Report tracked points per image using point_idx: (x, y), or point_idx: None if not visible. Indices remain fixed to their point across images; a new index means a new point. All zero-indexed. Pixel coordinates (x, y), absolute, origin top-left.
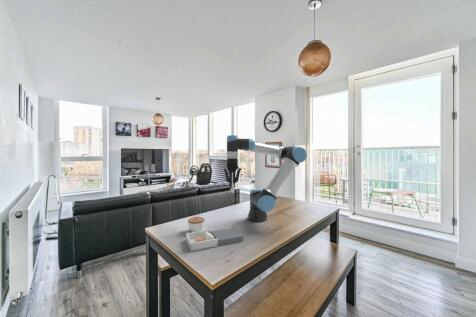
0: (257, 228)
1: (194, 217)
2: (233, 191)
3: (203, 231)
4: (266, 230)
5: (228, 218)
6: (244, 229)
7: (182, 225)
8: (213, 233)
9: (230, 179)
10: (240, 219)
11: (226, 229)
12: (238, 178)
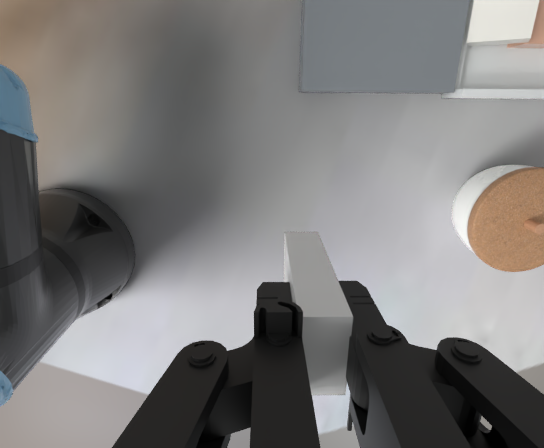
0: (134, 91)
1: (524, 259)
2: (296, 238)
3: (510, 89)
4: (88, 32)
5: (244, 314)
6: (220, 110)
7: (512, 302)
8: (458, 50)
9: (440, 401)
10: (182, 274)
11: (357, 82)
12: (131, 423)
